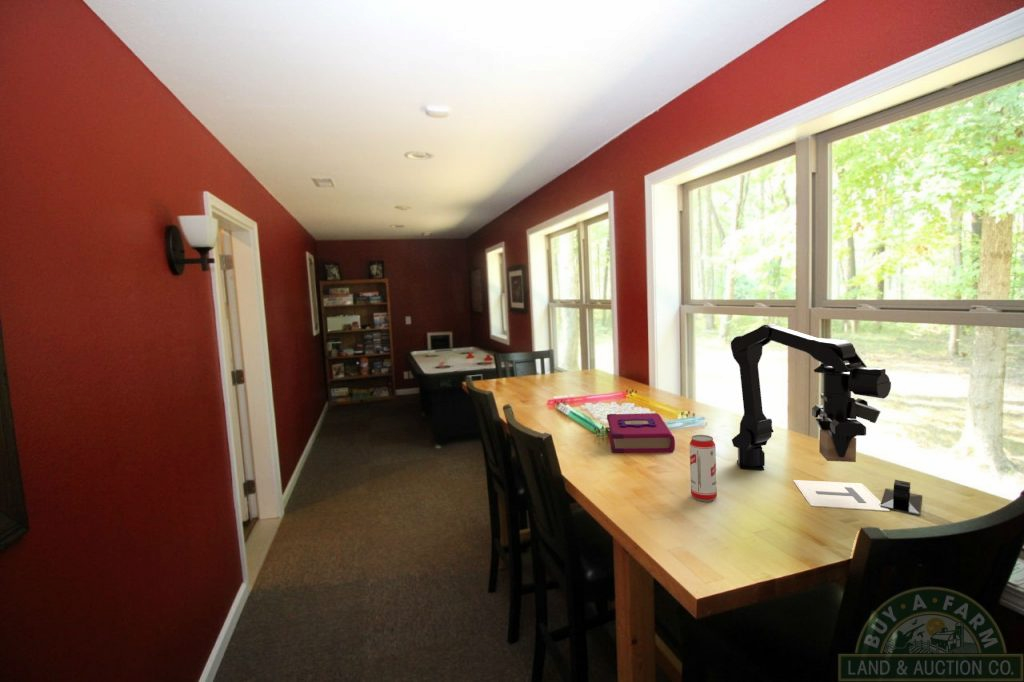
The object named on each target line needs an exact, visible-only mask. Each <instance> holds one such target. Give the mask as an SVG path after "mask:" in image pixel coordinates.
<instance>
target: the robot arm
mask: <svg viewBox="0 0 1024 682" xmlns="http://www.w3.org/2000/svg"><path fill="white" fill-rule="evenodd" d="M772 341H773V342H775V343H777V344H781V345H783V346H787V347H790V348H793V349H795V350H799V351H800V352H803V353H807V354H808V355H809V356H811V358H813V359H814V360H816V361H817V362H819V363H820V364H819V366H817V367H816V368H815V369H813V372H814V373H816V374H817V373H819V374H822V393H820V399H822V404H815V405H814V406H813V407H811V415H812V417H814V418H815V421H816V423H817V425H818V427H819V430H828V431H829V434H830V436H831V439H832V441H833V444H834V446H835V449H836V451H837V454H838V456H839V457H845V454H846V452H847V449H848V446H849V444H850V442H851V439H852V438H854V437H855V438H856V437H858V436H867V426H865V425H864V424H863V423H862V422H860V420H858V419H857V418H859V419H863V420H866V421H869V422H870V423H872V424H876V422H877V420H878V418H879V416H880V414H881V412H882V411H881V410H879V409H878V408H875V407H874V406H871V405H869V404H868V403H869V402H868V401H867V400H866V399H863V398H859V397H857V398H855V397H853V396H852V393H853V395H856V396H864V397H870V398H875V399H876V398H877V399H883V400H884V399H886V398H887V397H888V396H889V394H890V392H891V388H892V382H891V381H890V378H889V375H887V374H886V368H883V367H882V368H880V367H879V368H872V367H871V368H870V367H867V365H866V363H865V362H864V361H863V360H862V359H861V357H860V356H859V355H858V353H857V351H856V348H855V347H854V344H853V343H852V342H850V341H848V340H842V339H833V338H819V337H815V336H812V335H809V334H806V333H802V332H800V331H796V330H793V329H789V328H786V327H783V326H779V325H778V324H777V323H769V324H763V325H761V326H759V327H758V328H756V329H754V330H752V331H749V332H747V333H745V334H743V335H738V336H735V337H733V339H732V340H731V342H730V350H731V354H732V357H733V359H734V360H735V362H736V363H737V365H738V366H739V373H740V374H739V375H740V377H739V378H740V385H741V395H742V404H743V416H742V417H741V420H740V423H739V433H738V434H736V436H734V437H733V438H732V439H731V442H732V446H733V447H735V448H737V460H736V462H737V465H738V467H739V469H741V470H759V471H760V470H761V471H763V470H765V467H764V466H766V463H765V461H766V460H765V458H766V455H765V452H764V450H763V446H766V445H767V443H768V441H769V440H770V439H771V438H772V433H774V430H773V420H772V418H767V417H766V415H765V414H764V412H763V411H764V410H763V403H762V391H761V384H760V383H761V382H760V373H759V363H760V361H761V358H762V356H763V347H764V346H767V345H768V344H770V343H771V342H772Z"/></svg>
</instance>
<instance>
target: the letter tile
mask: <svg viewBox="0 0 1024 682" xmlns="http://www.w3.org/2000/svg"><path fill="white" fill-rule="evenodd" d="M792 481H793V483H794V484H795V486H796V487H797V488H798V490H799V491H800V493H801V494H802V495H803V496H802V497H804V499H805V500H806V502H807V503H808V504H809V506H810V507H817V508H830V509H831V508H834V509H845V510H847V509H849V510H865V511H878V512H891V509H888V508H884V507H880V506H879V504H880V503H881V502H882V500H881V501H880V499H878V497H877V496H875V495H874V494H873V493H872V492H871V490H869V489H868V488H867V487H866V486H865V485H864V484H863V482H862V483H858V482H839V481H824V480H823V481H821V480H819V481H818V480H805V479H804V480H803V479H802V480H801V479H800V480H799V479H793V480H792Z"/></svg>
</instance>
